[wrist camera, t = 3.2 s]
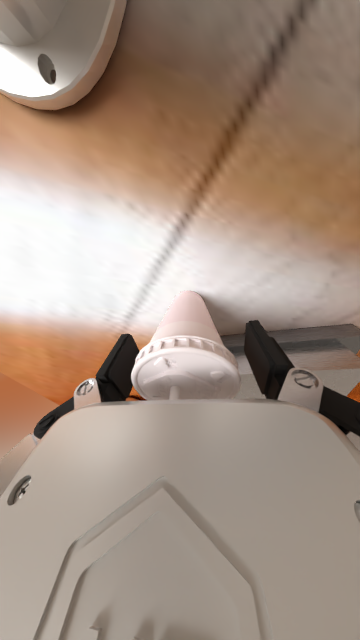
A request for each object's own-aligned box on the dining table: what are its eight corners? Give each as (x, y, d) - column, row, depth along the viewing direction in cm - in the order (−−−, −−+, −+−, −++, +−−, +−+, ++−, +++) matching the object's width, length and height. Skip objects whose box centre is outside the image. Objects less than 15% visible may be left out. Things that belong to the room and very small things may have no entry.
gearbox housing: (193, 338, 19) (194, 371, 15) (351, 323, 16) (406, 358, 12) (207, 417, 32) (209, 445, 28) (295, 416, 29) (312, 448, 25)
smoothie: (161, 273, 14) (36, 492, 3) (224, 283, 14) (360, 531, 3) (158, 324, 18) (99, 509, 6) (208, 331, 18) (239, 524, 7)
